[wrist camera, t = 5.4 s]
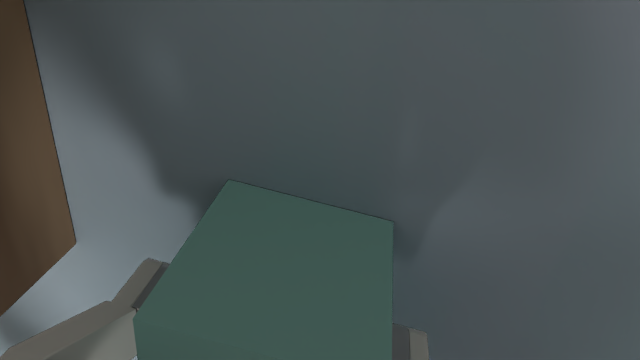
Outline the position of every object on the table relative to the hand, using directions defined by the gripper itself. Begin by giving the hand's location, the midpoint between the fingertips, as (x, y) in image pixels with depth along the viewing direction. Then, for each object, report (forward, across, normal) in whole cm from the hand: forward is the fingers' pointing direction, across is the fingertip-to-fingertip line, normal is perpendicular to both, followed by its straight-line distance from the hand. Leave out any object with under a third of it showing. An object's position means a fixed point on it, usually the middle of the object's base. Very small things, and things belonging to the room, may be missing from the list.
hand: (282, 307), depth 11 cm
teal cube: (+2, 0, 0) cm, 2 cm away
